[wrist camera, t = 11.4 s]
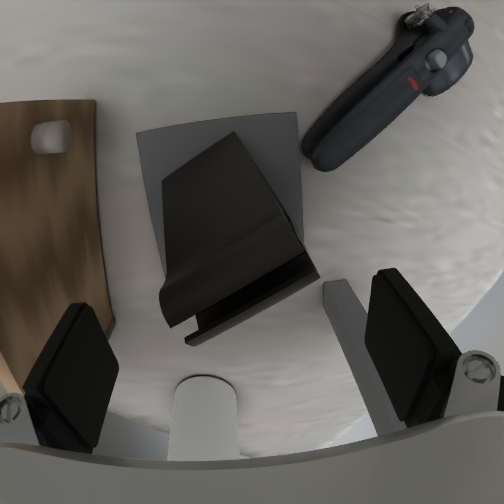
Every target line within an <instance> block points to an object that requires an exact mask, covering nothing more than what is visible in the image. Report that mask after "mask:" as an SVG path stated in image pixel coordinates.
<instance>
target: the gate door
mask: <svg viewBox="0 0 504 504" xmlns="http://www.w3.org/2000/svg"><path fill="white" fill-rule="evenodd" d="M94 105H95V100H35V101H18V102H5V103H0V380H1V382H2V384H3V386H4V388H5V389H6V391H7V393H8V394H9V393H15V392H16V393H19V394H21V395H22V396H23V397H24V395H25V391H24V390H23V388H22V386H23V384H24V383H25V381H26V379H27V377H28V375H29V373H30V371H31V369H32V367H33V366H34V364H35V362H36V360H37V358H38V356H39V355H40V353H41V351H42V349H43V348H44V346H45V344H46V342H47V341H48V339H49V337H50V336H51V334H52V332H53V331H54V329H55V327H56V326H57V324H58V322H59V321H60V319H61V317H62V316H63V314H64V313H65V311H66V309H67V308H68V306H69V305H70V304H71V303H80V302H86V303H87V304H88V305H89V306H92V307H93V309H94V311H95V314H96V316H97V318H98V321H99V323H100V325H101V327H102V330H103V332H104V334H105V336H106V338H107V341H108V340H109V338H110V335H111V333H112V331H113V328H114V326H115V320H114V318H113V317H112V313H111V308H110V303H109V297H108V291H107V285H106V279H105V273H104V266H103V259H102V251H101V243H100V234H99V224H98V213H97V201H96V186H95V163H94Z"/></svg>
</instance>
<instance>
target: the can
mask: <svg viewBox="0 0 504 504" xmlns="http://www.w3.org/2000/svg"><path fill="white" fill-rule="evenodd" d="M236 459H240V455H239V438H238V421H237V405H236V394H235V391H234V389H233V388H232V387H231V386H230V385H229V384H227V383H226V382H225V381H223V380H221V379H218V378H215V377H211V376H196V377H191V378H188V379H186V380H185V381H183V382H182V383H180V384H179V385H178V387H177V388H176V391H175V397H174V404H173V412H172V420H171V428H170V438H169V448H168V457H167V461H216V460H236Z"/></svg>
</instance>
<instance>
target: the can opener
mask: <svg viewBox="0 0 504 504" xmlns="http://www.w3.org/2000/svg"><path fill="white" fill-rule="evenodd" d="M415 7H416V11H412V12H407V13H405V14H404V15H402V16H401V17H400V19H399V21H398V35H397V41H396V42H395V44H394V45H393V47H392V48H391V49H390V50H389V52H387V54H386V55H385V56H384V57H382V59H381V60H380V61H378V62H377V63H376V64H375V65H374V66H373V67H372V68H370V69H369V70H368V71H367V72H366V73H364V74H363V75H362V76H361V77H360V78H359V79H358V80H357V81H356V82H355V83H354V84H353V85H351V86H350V87H349V88H348V89H347V90H346V91H345V92H344V93H343V94H342V95H341V96H340V97H339V98H338V99H337V100H336V101H335V102H334V103H333V104H332V105H331V106H330V107H329V108H328V109H327V110H326V112H325V113H324V114H323V115H322V116H321V117H320V118H319V119H318V121H317V122H316V123H315V124H314V126H313V127H312V128H311V129H310V130H309V132H308V133H307V134H306V135H305V137H304V139H303V141H302V151H303V154H304V155H305V156H306V157H308V158H310V159H311V162H312V164H313V166H314V168H315V169H317V170H319V171H322V172H328V171H332V170H334V169H336V168H338V167H339V166H340V165H342V164H343V163H344V162H345V161H347V160H348V159H349V158H350V157H352V156H353V155H354V154H355V153H356V152H358V151H359V150H360V149H361V148H363V147H364V146H365V145H366V144H367V143H369V142H370V141H371V140H372V139H373V138H375V137H376V136H377V135H378V134H379V133H380V132H381V131H382V130H383V129H384V128H386V127H387V126H388V125H389V124H390V123H391V122H392V121H393V120H394V119H395V118H396V117H397V116H398V115H400V114H401V113H402V112H403V111H404V110H405V109H406V108H407V107H408V106H409V105H410V104H411V103H412V102H413V101H414V100H415V99H416V98H417V97H418V95H419V94H420V93H421V92H422V91H424V92H425V93H426V94H427V95H428V96H436V95H438V94H441V93H443V92H444V91H446V90H448V89H449V88H450V87H452V86H453V85H454V84H455V83H456V82H458V81H459V79H460V78H461V77H462V76H463V75H464V74H465V72H466V71H467V70H468V68H469V67H470V65H471V63H472V59H473V54H472V51H471V48H470V45H469V42H468V39H469V38H470V36H471V35H472V33H473V31H474V22H473V19H472V18H471V16H470V15H469V14H468V13H467V12H466V11H464V10H463V9H461V8H459V7H447V8H446V9H445V8H444V9H439V10H436V11H435V9H431V10H430V9H429V4H426V5H423V6H422V7H418V6H415Z"/></svg>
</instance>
